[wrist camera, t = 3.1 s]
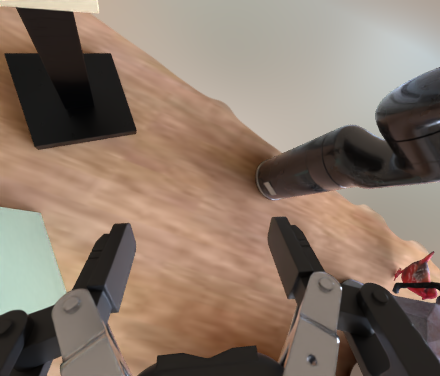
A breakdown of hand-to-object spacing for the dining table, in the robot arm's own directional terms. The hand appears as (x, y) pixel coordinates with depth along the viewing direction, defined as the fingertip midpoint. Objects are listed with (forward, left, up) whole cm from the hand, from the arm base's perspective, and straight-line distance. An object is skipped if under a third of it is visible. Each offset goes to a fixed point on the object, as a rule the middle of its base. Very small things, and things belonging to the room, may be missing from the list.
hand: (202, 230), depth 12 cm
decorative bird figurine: (-55, +47, -27) cm, 77 cm away
